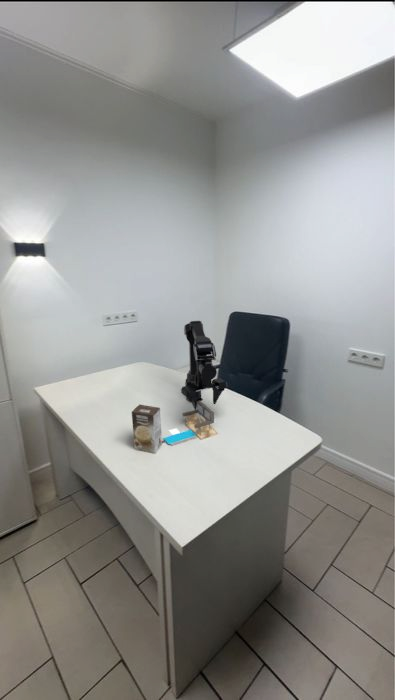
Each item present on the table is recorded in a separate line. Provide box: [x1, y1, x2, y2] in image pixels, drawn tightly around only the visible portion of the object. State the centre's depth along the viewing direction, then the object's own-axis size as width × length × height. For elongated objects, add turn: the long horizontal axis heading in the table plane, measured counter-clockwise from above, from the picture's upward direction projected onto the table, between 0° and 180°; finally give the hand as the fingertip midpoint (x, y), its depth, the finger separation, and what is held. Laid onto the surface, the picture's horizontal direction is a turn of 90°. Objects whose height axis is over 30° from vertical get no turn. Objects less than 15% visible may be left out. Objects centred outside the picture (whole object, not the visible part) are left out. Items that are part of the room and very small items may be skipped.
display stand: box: [184, 413, 218, 440], centre depth 130 cm, size 8×14×5 cm, turn 28°
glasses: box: [182, 400, 215, 428], centre depth 128 cm, size 8×12×5 cm
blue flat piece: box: [162, 427, 197, 447], centre depth 126 cm, size 20×12×2 cm, turn 118°
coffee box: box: [131, 403, 163, 454], centre depth 116 cm, size 9×6×16 cm
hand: (204, 406), depth 128 cm, fingers open, 9 cm apart
